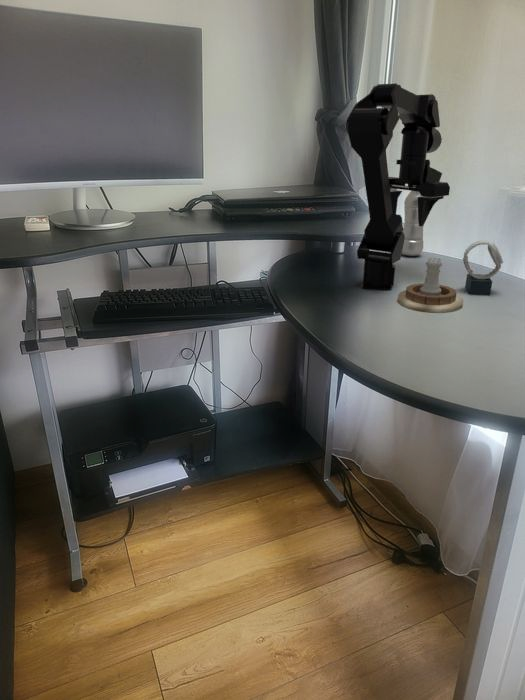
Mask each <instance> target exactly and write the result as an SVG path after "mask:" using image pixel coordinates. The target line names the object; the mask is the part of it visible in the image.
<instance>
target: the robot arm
mask: <svg viewBox="0 0 525 700" xmlns="http://www.w3.org/2000/svg"><path fill="white" fill-rule="evenodd" d="M439 111H440V110H439V103H438V100H437V99H436V96H435V95H434V93H433V94H432V93H431V94H430V93H429V94H415V93H414V92H411V91H409V90H407V89H405V88H404V87H402V86H401V84H398V83H381V84H380V83H378V84H377V85H374V86H373V87H372V89H371V91H370V92H369V93H368V94H367V95H366V96H364V97H362V99H360V100H359V101H358V102H356V103H355V104H354V106H353V108H352V110H351V112H350V113H349V115H348V117H347V120H346V122H345V130H346V132H347V135H348V140H349V143H350V147H351V148H352V149H353V150H354V152H355V153H356V154H357V155H358V157H360V160H361V166H362V167H361V168H362V173H363V180H364V186H365V194H366V200H367V207H368V213H369V221H368V223H367V225H366V227H365V228H364V231H363V233H364V234H363V237H362V239H361V240H360V242H359V245H358V247H357V250H356V254H357V257H356V258H357V259H358V260H364V261H363V262H364V264H363V265H364V266H363V275H362V276H363V278H362V284H361V289H365V290H366V289H368V290H369V289H370V290H387V291H388V290H390V291H391V290H392V286H393V285H394V283H395V273H396V265H395V263H396V262H398V261H401V257H402V255H403V254H402V249H403V245H404V240H405V235H404V233H403V230H404V226H403V217H402V215H401V214H397V210H398V208H397V207H398V201H399V197H400V196H401V194H402V193H403V191H409V192H411V191H418V192H419V193H420V195H421V196H423V197H418V222H419V226H423V225H424V226H425V223H426V221H427V219H428V217H429V215H430V213H431V211H432V209H433V207H434V205H436V203H437V202H439V200H443V199H444V198H445V197H446V196H450V192H451V191H450V189H451V187H450V184H449V183H448V182H443V181H441V179H442V176H443V172H441V171H439V170H437V169H436V168H433V167H431V161H430V159H427V155H428V154H432V153H434V152H436V151H437V150H438V149H439V148H440V147H441V144H442V142H443V141H442V140H443V138H442V134H441V132H440V131H439V130H438V129H437V128H440V126H441V123H440V121H441V119H440V114H439V113H440V112H439ZM399 120H400V121H401V123H402V125H403V128H402V129H401V132H400V134H402V138H401V139H402V140H401V149H400V150H401V151H400V159H396V161H395V162H396V163H395V165H399V170H398V171H399V172H398V177H395V176H389V169H388V168H389V167H388V158H387V149H388V146H389V144H390V143H391V141H392V139H393V137H394V132H393V131H394V129H395V128H396V125H397V124H398V122H399ZM414 187H416V188H414ZM424 226H423V227H424Z"/></svg>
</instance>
